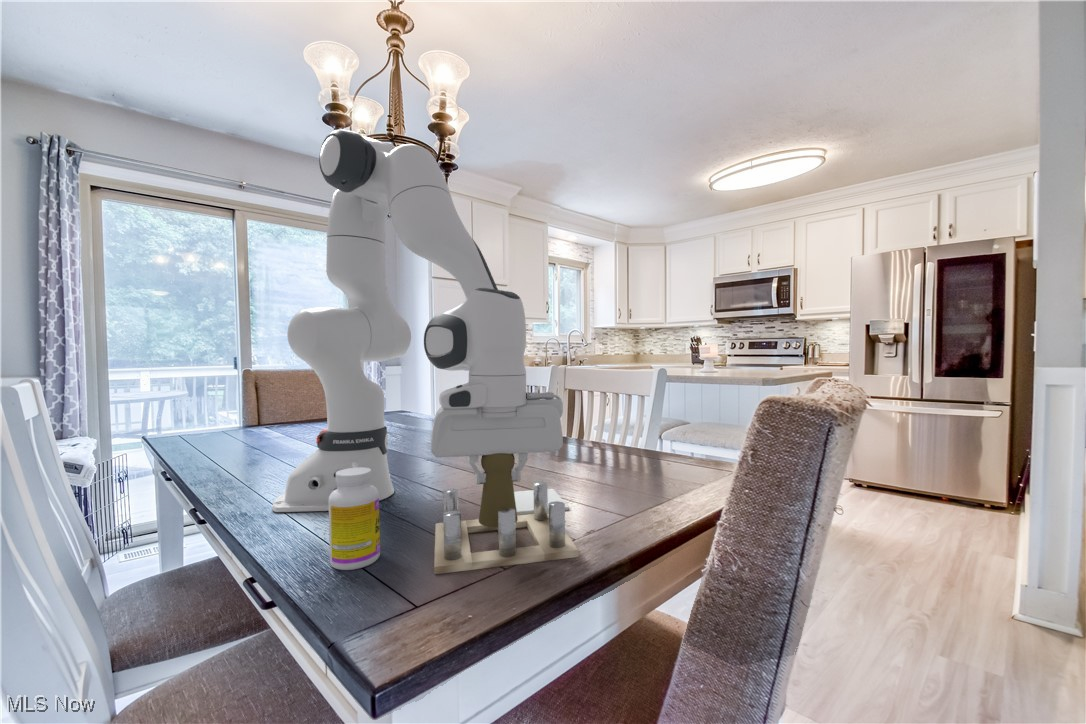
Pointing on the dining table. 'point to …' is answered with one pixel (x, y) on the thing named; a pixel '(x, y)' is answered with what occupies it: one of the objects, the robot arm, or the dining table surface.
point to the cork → (497, 488)
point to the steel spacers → (504, 523)
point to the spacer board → (493, 558)
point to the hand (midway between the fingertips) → (498, 482)
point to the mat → (526, 501)
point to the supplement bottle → (354, 520)
